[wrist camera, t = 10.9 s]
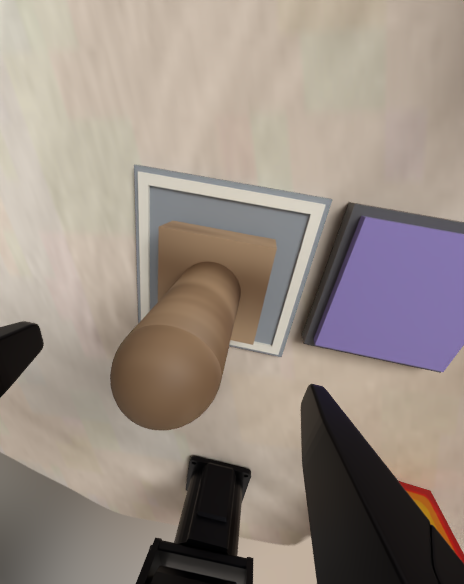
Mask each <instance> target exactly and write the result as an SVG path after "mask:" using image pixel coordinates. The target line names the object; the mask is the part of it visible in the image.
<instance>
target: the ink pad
mask: <svg viewBox="0 0 464 584" xmlns="http://www.w3.org/2000/svg"><path fill="white" fill-rule="evenodd" d="M302 338H303V343H304V344H307V345H312V346H317V347H321V348H326V349H331V350H336V351H340V352H345V353H350V354H355V355H359V356H364V357H369V358H374V359H379V360H383V361H388V362H393V363H398V364H402V365H407V366H412V367H417V368H421V369H426V370H431V371H436V372H440V373H441V372H444V370H445V369H446V368H447V366H448V365H449V364H450V362H451V361H452V360H453V358H454V357H455V356H456V354H457V353H458V352H459V350H460V349H461V348H462V346H463V345H464V222H459V221H454V220H448V219H442V218H437V217H431V216H425V215H420V214H414V213H408V212H402V211H397V210H391V209H385V208H380V207H374V206H368V205H363V204H357V203H351V202H349V204H348V206H347V209H346V212H345V215H344V218H343V221H342V223H341V226H340V229H339V232H338V235H337V237H336V240H335V243H334V246H333V249H332V251H331V254H330V257H329V260H328V263H327V266H326V268H325V271H324V274H323V277H322V280H321V282H320V285H319V288H318V291H317V294H316V297H315V299H314V302H313V305H312V308H311V311H310V313H309V316H308V319H307V322H306V325H305V327H304V330H303V333H302Z"/></svg>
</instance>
